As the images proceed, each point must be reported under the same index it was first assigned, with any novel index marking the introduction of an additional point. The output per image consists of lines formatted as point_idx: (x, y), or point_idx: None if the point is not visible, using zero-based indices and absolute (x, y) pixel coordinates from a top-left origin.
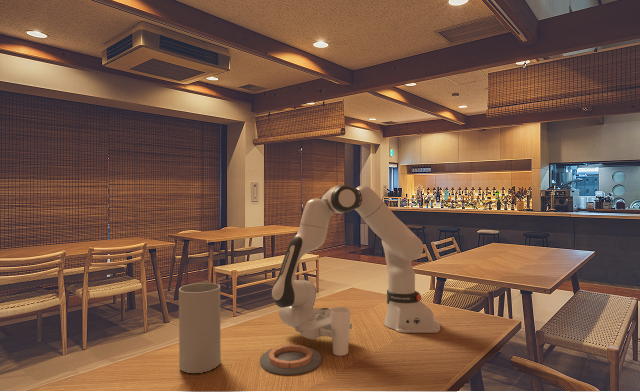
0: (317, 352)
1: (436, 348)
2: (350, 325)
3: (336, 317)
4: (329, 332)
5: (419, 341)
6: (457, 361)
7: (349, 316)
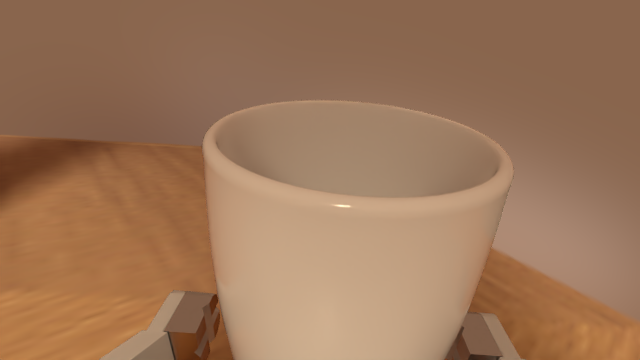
0: None
1: (95, 185)
2: (201, 294)
3: (458, 184)
4: (502, 340)
5: (19, 222)
6: (178, 155)
7: (314, 153)
